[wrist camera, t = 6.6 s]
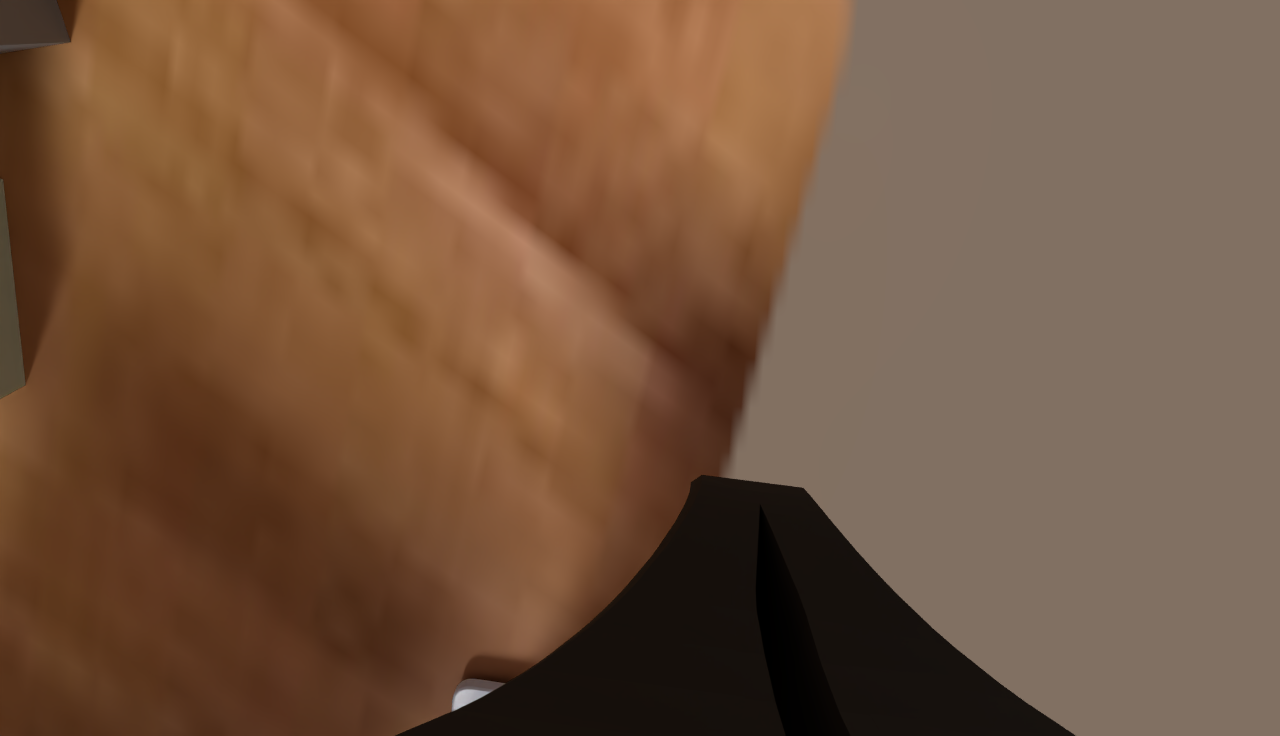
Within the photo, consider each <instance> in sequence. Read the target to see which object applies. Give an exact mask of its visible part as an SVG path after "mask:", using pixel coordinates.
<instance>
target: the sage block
mask: <svg viewBox="0 0 1280 736" xmlns="http://www.w3.org/2000/svg"><path fill="white" fill-rule="evenodd" d="M25 385H26V384H25V375H24V366H23V356H22V347H21V338H20V329H19V320H18V311H17V302H16V293H15V283H14V274H13V265H12V256H11V247H10V238H9V229H8V220H7V211H6V201H5V192H4V183H3V179H0V399H1V398H3V397H5V396H6V395H8V394H10V393H12V392H14V391H16V390H17V389H19V388H21V387H23V386H25Z"/></svg>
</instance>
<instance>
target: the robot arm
mask: <svg viewBox="0 0 1280 736" xmlns="http://www.w3.org/2000/svg"><path fill="white" fill-rule="evenodd" d="M395 736H1075V735H1074V734H1072V733H1071V732H1069V731H1068V730H1066V729H1065V728H1063V727H1062V726H1060V725H1059V724H1057V723H1056V722H1055V721H1053V720H1051V719H1050V718H1048V717H1047V716H1046V715H1044V714H1043V713H1041V712H1039V711H1038V710H1036V709H1035V708H1033V707H1032V706H1031V705H1029V704H1027V703H1026V702H1024V701H1023V700H1022V699H1021V698H1019V697H1018V696H1016V695H1015V694H1014V693H1012V692H1011V691H1010V690H1008V689H1007V688H1005V687H1004V686H1003V685H1001V684H1000V683H999V682H997V681H996V680H995V679H993V678H992V677H991V676H990V675H988V674H987V673H986V672H985V671H983V670H982V669H981V668H980V667H978V666H977V665H976V664H975V663H973V662H972V661H971V660H970V659H968V658H967V657H966V656H965V655H963V654H962V653H961V652H960V651H958V650H957V649H956V648H955V647H953V646H952V645H951V644H950V643H949V642H948V641H947V640H945V639H944V638H943V637H942V636H941V635H940V634H939V633H937V632H936V631H935V630H934V629H933V628H932V627H931V626H930V625H929V624H928V623H927V622H925V621H924V620H923V619H922V618H921V617H920V616H919V615H918V614H917V613H916V612H915V611H914V610H913V609H912V608H911V607H910V606H908V604H907V603H905V601H903V600H902V599H901V598H900V597H899V596H898V595H897V594H896V593H895V592H894V591H893V589H892V588H890V586H889V585H887V584H886V582H884V580H883V579H882V578H881V577H880V576H879V575H878V574H877V573H876V572H875V571H874V570H873V569H872V567H871V566H870V565H869V564H868V563H867V562H866V561H865V560H864V559H863V557H862V556H861V555H860V554H859V553H858V552H857V551H856V550H855V548H854V547H853V546H852V545H851V544H850V543H849V541H848V540H847V539H846V538H845V537H844V536H843V534H842V533H841V532H840V531H839V530H838V528H837V527H836V526H835V525H834V524H833V523H832V521H831V520H830V519H829V518H828V517H827V515H826V514H825V513H824V512H823V510H822V509H821V508H820V507H819V506H818V504H817V503H816V502H815V501H814V500H813V498H812V497H811V496H810V495H809V494H808V493H807V491H806V490H805V489H804V488H800V487H792V486H785V485H777V484H769V483H761V482H753V481H745V480H738V479H730V478H722V477H714V476H706V475H701V476H700V477H698V478H697V479H695V480H694V481H692V482H691V487H690V493H689V496H688V498H687V501H686V503H685V505H684V507H683V509H682V511H681V513H680V514H679V516H678V518H677V520H676V522H675V523H674V525H673V526H672V528H671V529H670V531H669V532H668V534H667V535H666V537H665V538H664V540H663V541H662V542H661V544H660V545H659V547H658V548H657V550H656V551H655V552H654V554H653V555H652V556H651V558H650V559H649V560H648V561H647V562H646V564H645V565H644V566H643V567H642V568H641V570H640V571H639V572H638V573H637V574H636V576H635V577H634V578H633V579H632V580H631V581H630V583H629V584H628V585H627V586H626V587H625V588H624V589H623V591H622V592H621V593H620V594H619V595H618V596H617V597H616V598H615V599H614V600H613V601H612V602H611V603H610V604H609V605H608V606H607V607H606V608H605V609H604V610H603V611H602V612H601V613H599V614H598V615H597V616H596V617H595V618H594V619H593V620H592V621H591V622H590V623H588V624H587V625H586V626H585V627H584V628H583V629H582V630H580V631H579V632H578V633H577V634H575V635H574V636H573V637H572V638H570V639H569V640H568V641H566V642H565V643H564V644H563V645H561V646H560V647H559V648H558V649H556V650H555V651H554V652H552V653H551V654H550V655H549V656H547V657H546V658H544V659H543V660H542V661H540V662H539V663H537V664H536V665H534V666H533V667H531V668H530V669H528V670H527V671H526V672H524V673H522V674H521V675H519V676H517V677H516V678H514V679H512V680H510V681H509V682H507V683H500V682H493V681H487V680H480V679H466V680H464V681H461V682H460V683H459V684H458V685H457V687H456V690H455V693H454V696H453V699H452V712H450V713H447V714H445V715H443V716H440V717H438V718H436V719H433V720H431V721H429V722H426V723H424V724H421V725H419V726H417V727H414V728H412V729H410V730H407V731H405V732H402V733H400V734H398V735H395Z"/></svg>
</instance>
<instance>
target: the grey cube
mask: <svg viewBox="0 0 1280 736" xmlns="http://www.w3.org/2000/svg"><path fill="white" fill-rule="evenodd" d="M69 42H70V39H69V36H68V33H67V30H66V27H65V24H64V21H63V18H62V15H61V12H60V9H59V6H58V3H57V0H0V54H1V53H7V52H14V51H20V50H26V49H32V48H38V47H45V46H51V45H57V44H63V43H69Z"/></svg>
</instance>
